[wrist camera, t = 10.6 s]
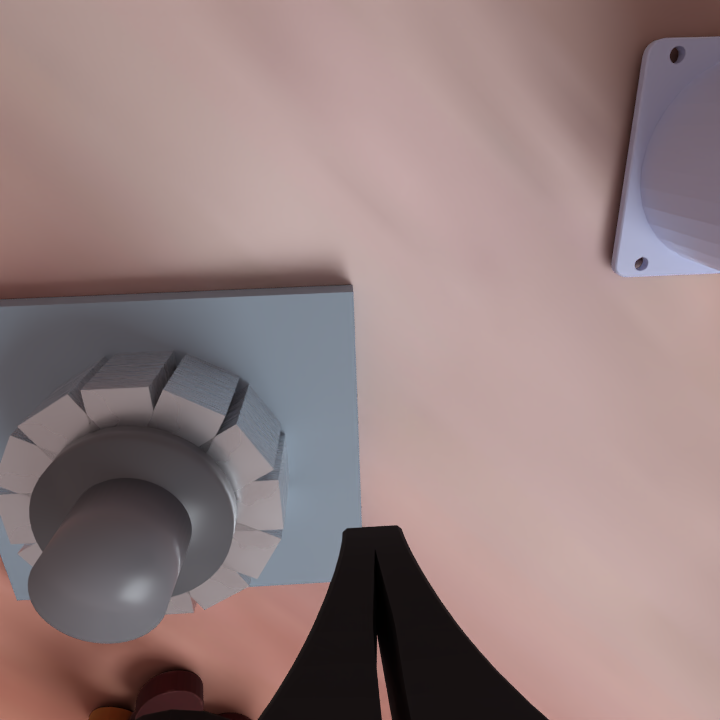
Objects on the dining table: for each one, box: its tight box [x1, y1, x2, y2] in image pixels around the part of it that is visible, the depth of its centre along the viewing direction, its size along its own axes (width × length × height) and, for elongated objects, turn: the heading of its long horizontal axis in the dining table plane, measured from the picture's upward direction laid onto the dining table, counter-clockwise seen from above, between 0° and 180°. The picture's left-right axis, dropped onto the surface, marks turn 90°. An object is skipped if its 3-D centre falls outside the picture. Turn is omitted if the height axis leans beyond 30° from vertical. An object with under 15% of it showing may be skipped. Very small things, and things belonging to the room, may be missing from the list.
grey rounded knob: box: [28, 426, 237, 643], centre depth 19 cm, size 7×7×7 cm
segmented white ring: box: [0, 350, 290, 614], centre depth 21 cm, size 10×10×3 cm
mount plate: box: [0, 285, 362, 600], centre depth 23 cm, size 16×14×1 cm
